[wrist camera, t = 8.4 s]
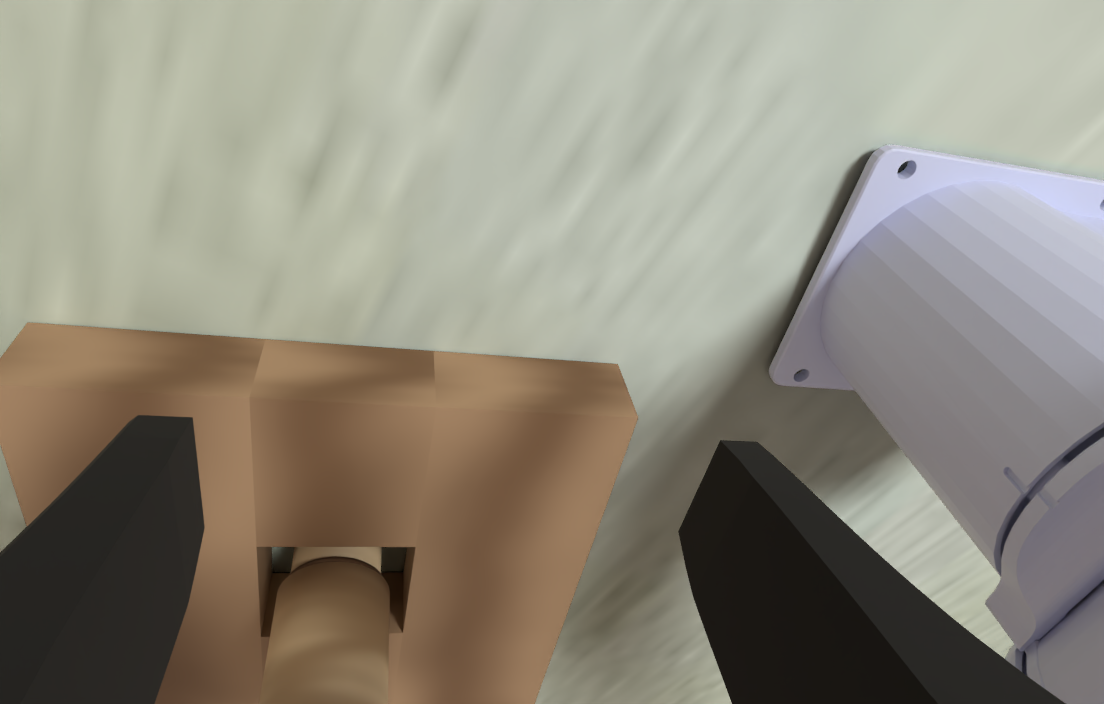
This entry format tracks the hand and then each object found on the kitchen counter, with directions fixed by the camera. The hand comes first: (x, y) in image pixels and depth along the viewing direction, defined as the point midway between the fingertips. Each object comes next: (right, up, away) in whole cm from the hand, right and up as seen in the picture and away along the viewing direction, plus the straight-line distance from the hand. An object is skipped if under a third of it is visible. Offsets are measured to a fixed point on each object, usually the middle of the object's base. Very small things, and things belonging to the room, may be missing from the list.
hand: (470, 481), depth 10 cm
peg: (-6, -4, +14) cm, 16 cm away
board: (-6, -4, +15) cm, 16 cm away
